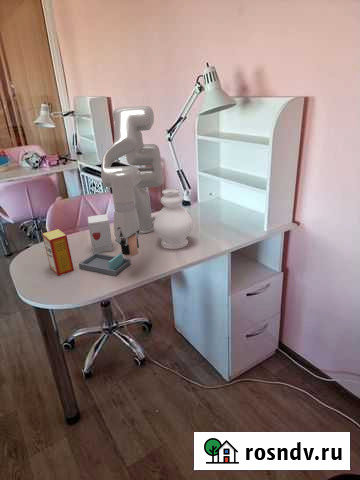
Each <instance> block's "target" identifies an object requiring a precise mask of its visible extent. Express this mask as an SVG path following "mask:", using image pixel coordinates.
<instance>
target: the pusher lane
mask: <svg viewBox="0 0 360 480" xmlns="http://www.w3.org/2000/svg"><path fill="white" fill-rule="evenodd" d="M114 257H116V256H115V255H110V254H104V253H92V254H91V255H89V256H88V257H86V258H85V259H84V260H82V261H80V262H79V263H78V268H79V270H84V271H87V272H88V271H89V272H91V273H92V272H93V273H97V274H102V275H106V276H111V277H116V276H118V275H119V274H120V273H122V272H123V271H124V270H125V269H127V268H128V267H129V266H130V265H131V259H130V258H126V257H125V258H124V257H123V262H124V263H123V264H122V265H120V266H119V267H118V268H117V269H115V270H112V269H109V265H108V262H109V261H110V260H111V259H113V258H114Z"/></svg>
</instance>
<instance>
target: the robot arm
mask: <svg viewBox="0 0 360 480" xmlns="http://www.w3.org/2000/svg"><path fill="white" fill-rule="evenodd" d="M112 118H113V121H114V133H113V135H114V138H113V139H114V141H113V143H112V144H111V145H110V146H109V147H108V148H107V150H106V151H105V152H104V155H103V156H102V159H101V169H100V175H101V177H100V179H101V183H102V185H103V186H104V187H105V188H111V192H112V199H113V208H114V211H113V230H114V236H115V239H114V241H115V242H116V243H118V244H119V246H120V247H121V248H120V249H121V253H122V255H124V254H125V255H124V256H126V255H129V254H130V251H129V245H127V244H128V237H129V236H131V235H132V234H136V239H137V247H138V249H139V248H140V246H139V245H140V244H139V235H140V234H141V235H142V234H149V233H152V232H155V231H154V220H155V218H156V216H152V209H151V199H150V198H151V196H150V195H149V192H148V191H147V190H146V189H147V188H157V187H160V186H161V185H163V169H162V159H161V151H160V148H159V146H158V144H155V143H144V142H143V141H144V138H143V133H142V132H143V131H150V130H152V127H153V125H154V122H155V121H154V120H155V115H154V111H153V109H152V107H151V106H149V105H141V106H140V105H139V106H124V107H117V108H115V109H114V110H113V111H112ZM124 156H125V157H126V162H127V164H129V165H128V166H127V165H126V166H123V165H122V166H112V165H113V163H114V162H115V161H117V160H119V159H120V158H122V157H124ZM136 166H137V167H136ZM138 166H143V167H138ZM144 166H147V167H144ZM148 166H149V167H148ZM145 188H146V189H145ZM123 236H124V237H123ZM123 239H125V242H124V241H123Z"/></svg>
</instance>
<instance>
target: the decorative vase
mask: <svg viewBox="0 0 360 480" xmlns="http://www.w3.org/2000/svg"><path fill="white" fill-rule="evenodd" d="M179 193H180V189H178V188H167V189H166V188H165V189H163V190H162V191H161V194H163V195H162V197H160V203H161V205H163V207H162V208H161V209H160V210H159V212H158V213H157V215H156V216H155V220H154V221H153V224H154V231H153V232H154V233H155V234H156V235H157V236H158V237H159V238H160V239H161V242H160V246H161V247H162V248H164V249H168V250H173V249H174V250H178V249H182V248H184V247H186V246H187V245H188V244H189V240H188V239H187V237H188V236H189V235H190V233H191V232H192V231H193V227H194V224H193V219H192V217H191V215H190V214H189V213H188V211H186V209H184V208H183V207H182V206H181V203H183V197H182V196H181V195H180V194H179Z"/></svg>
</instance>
